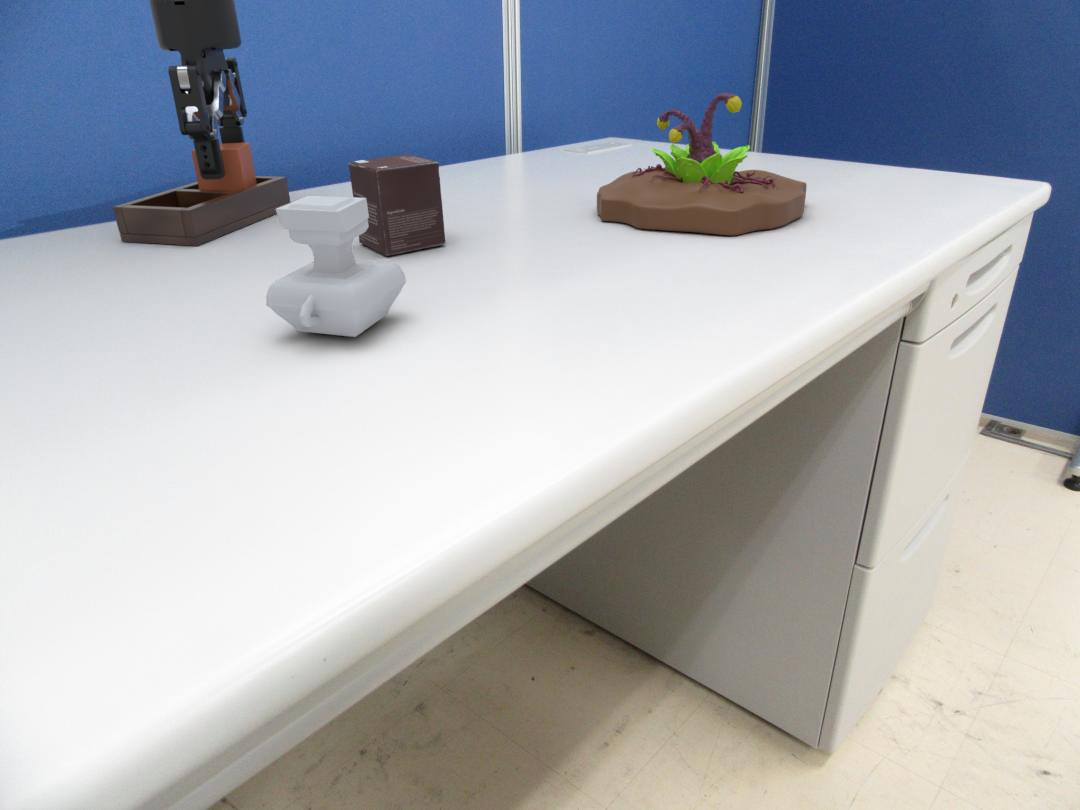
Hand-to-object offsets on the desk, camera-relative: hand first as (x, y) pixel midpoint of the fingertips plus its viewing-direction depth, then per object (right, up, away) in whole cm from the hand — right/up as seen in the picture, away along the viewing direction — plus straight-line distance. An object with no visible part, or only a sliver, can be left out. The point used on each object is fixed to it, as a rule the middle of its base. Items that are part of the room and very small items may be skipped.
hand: (226, 170), depth 82 cm
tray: (-1, -6, -1) cm, 6 cm away
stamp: (+19, -19, -29) cm, 40 cm away
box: (+20, -10, -10) cm, 25 cm away
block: (0, -3, +2) cm, 4 cm away
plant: (+49, -5, -1) cm, 49 cm away
